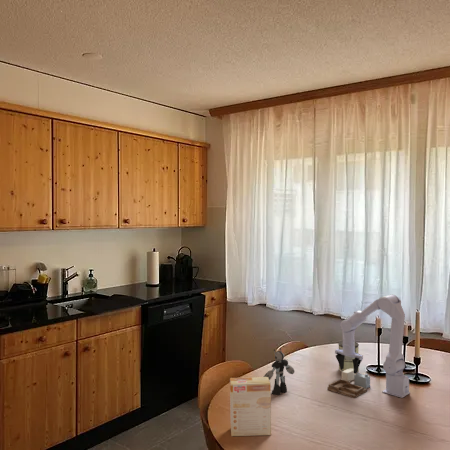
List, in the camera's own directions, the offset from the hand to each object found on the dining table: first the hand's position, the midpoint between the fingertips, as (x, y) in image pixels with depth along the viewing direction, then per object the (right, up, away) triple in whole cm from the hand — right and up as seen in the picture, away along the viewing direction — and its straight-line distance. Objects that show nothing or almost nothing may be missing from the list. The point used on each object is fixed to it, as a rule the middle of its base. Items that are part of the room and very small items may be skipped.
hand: (348, 371), depth 221 cm
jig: (-5, -4, -14) cm, 15 cm away
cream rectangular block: (0, -4, 0) cm, 4 cm away
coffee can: (+4, -4, +14) cm, 15 cm away
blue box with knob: (+4, -4, -9) cm, 10 cm away
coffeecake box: (-52, -6, -53) cm, 74 cm away
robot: (-36, -5, -15) cm, 40 cm away
